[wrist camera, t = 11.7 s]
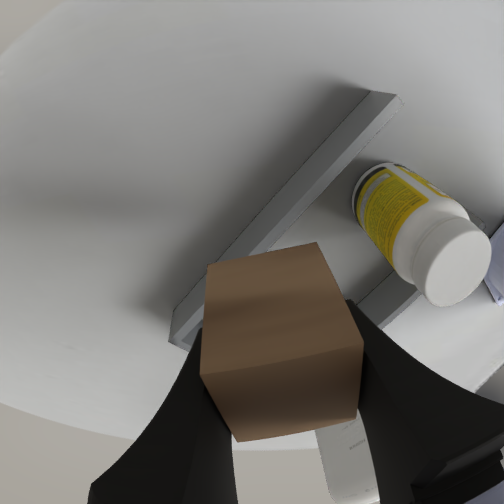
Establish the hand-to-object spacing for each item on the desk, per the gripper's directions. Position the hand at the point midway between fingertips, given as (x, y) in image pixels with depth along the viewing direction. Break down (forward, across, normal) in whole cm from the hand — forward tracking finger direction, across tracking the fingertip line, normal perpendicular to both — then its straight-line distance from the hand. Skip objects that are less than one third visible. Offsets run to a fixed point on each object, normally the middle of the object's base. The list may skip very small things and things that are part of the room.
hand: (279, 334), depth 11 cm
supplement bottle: (+10, -8, 0) cm, 13 cm away
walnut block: (+2, 0, 0) cm, 2 cm away
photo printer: (+10, -6, +20) cm, 24 cm away
